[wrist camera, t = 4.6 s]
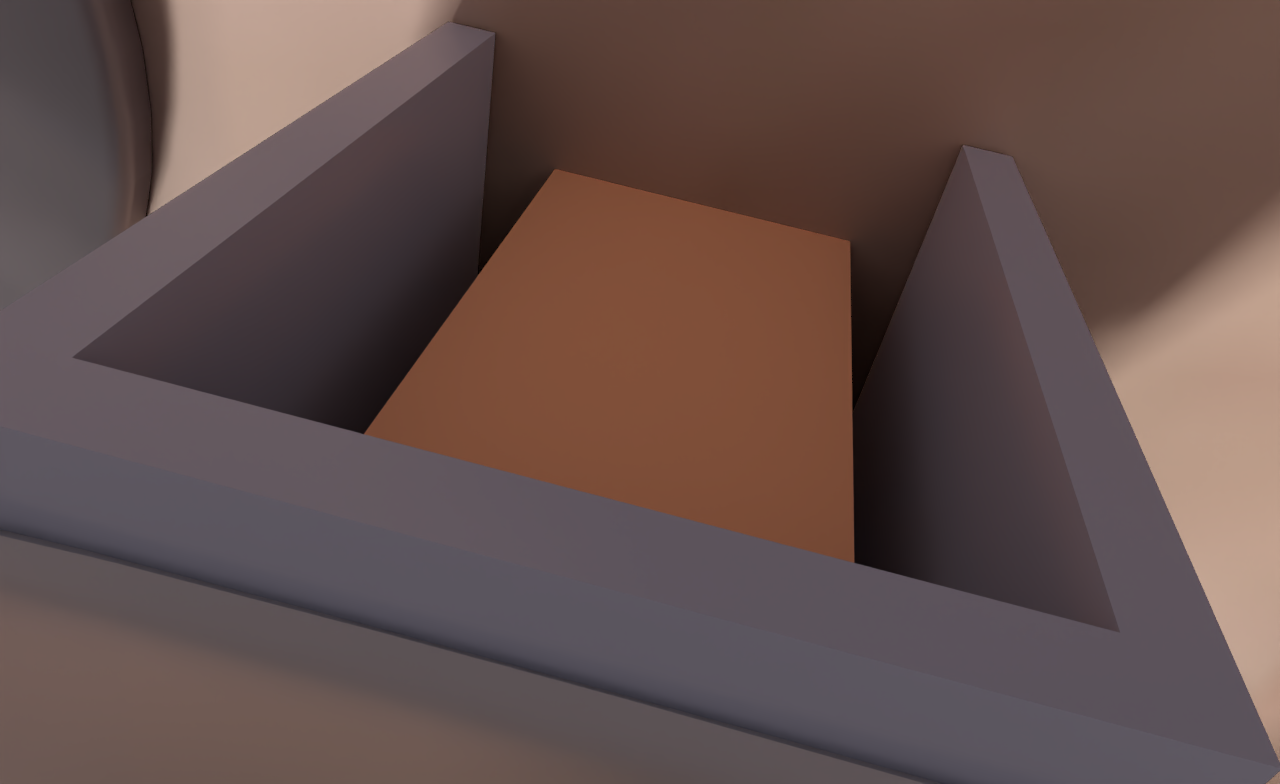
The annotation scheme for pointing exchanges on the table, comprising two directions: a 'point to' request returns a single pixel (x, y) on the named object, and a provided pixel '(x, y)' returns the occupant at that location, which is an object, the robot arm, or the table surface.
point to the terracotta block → (652, 364)
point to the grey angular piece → (612, 530)
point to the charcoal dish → (68, 135)
